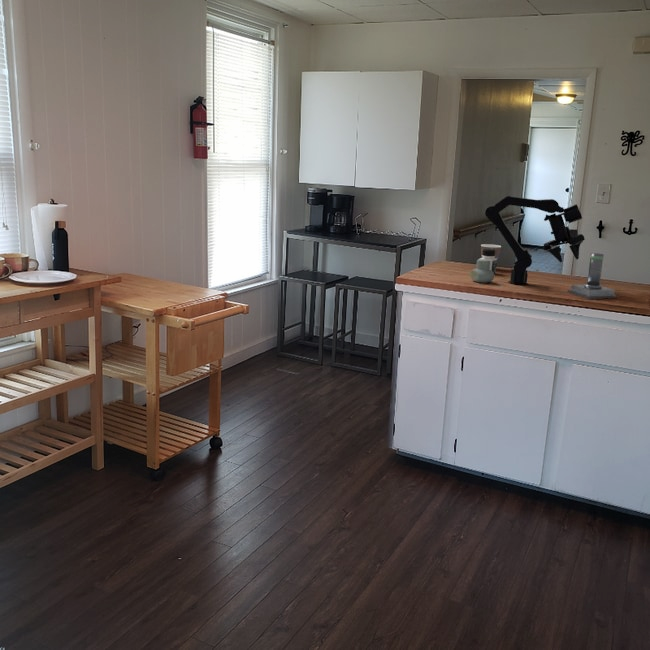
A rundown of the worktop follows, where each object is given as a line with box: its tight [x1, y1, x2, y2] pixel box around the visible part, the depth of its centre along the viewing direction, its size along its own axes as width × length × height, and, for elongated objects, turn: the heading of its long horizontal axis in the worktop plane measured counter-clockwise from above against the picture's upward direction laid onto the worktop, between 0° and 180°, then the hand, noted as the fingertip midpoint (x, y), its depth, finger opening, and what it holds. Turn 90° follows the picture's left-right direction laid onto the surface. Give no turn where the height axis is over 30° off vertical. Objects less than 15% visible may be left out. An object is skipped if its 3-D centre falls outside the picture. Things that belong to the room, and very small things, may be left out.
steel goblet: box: [583, 252, 605, 289], centre depth 281 cm, size 7×7×14 cm
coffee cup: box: [480, 243, 502, 264], centre depth 342 cm, size 10×10×12 cm
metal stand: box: [567, 284, 618, 300], centre depth 283 cm, size 14×14×4 cm
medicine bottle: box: [479, 248, 498, 274], centre depth 329 cm, size 7×7×12 cm
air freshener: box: [470, 258, 496, 284], centre depth 304 cm, size 11×8×10 cm
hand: (569, 260), depth 296 cm, fingers open, 9 cm apart
